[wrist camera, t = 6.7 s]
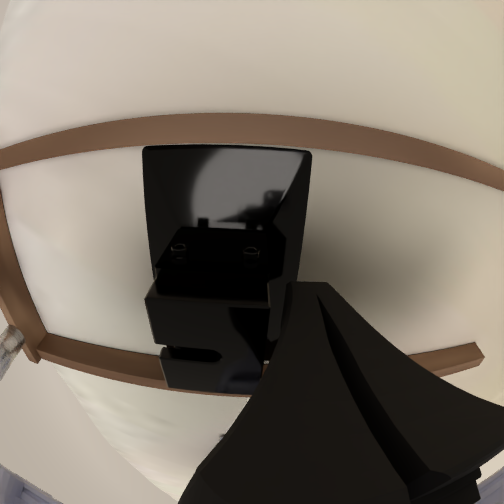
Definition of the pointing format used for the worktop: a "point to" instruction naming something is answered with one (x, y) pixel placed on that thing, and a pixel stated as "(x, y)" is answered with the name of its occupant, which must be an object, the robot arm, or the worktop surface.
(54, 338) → the loading bay
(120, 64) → the worktop surface
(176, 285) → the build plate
